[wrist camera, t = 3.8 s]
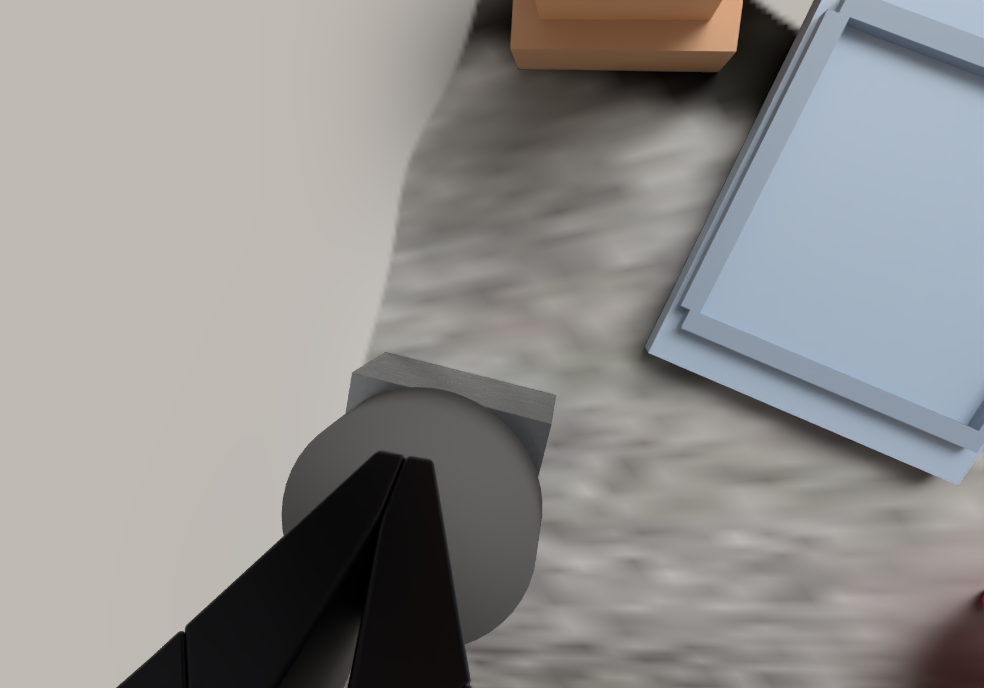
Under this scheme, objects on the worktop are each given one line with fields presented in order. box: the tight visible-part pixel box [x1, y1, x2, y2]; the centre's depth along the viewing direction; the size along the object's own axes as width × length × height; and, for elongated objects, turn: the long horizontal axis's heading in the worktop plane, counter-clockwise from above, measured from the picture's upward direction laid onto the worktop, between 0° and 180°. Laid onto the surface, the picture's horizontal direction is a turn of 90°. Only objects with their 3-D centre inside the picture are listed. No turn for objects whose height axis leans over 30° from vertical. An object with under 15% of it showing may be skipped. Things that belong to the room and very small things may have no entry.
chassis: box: [645, 0, 984, 485], centre depth 16 cm, size 12×10×2 cm
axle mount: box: [346, 352, 556, 476], centre depth 19 cm, size 6×6×3 cm
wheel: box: [282, 387, 542, 644], centre depth 17 cm, size 7×7×5 cm
